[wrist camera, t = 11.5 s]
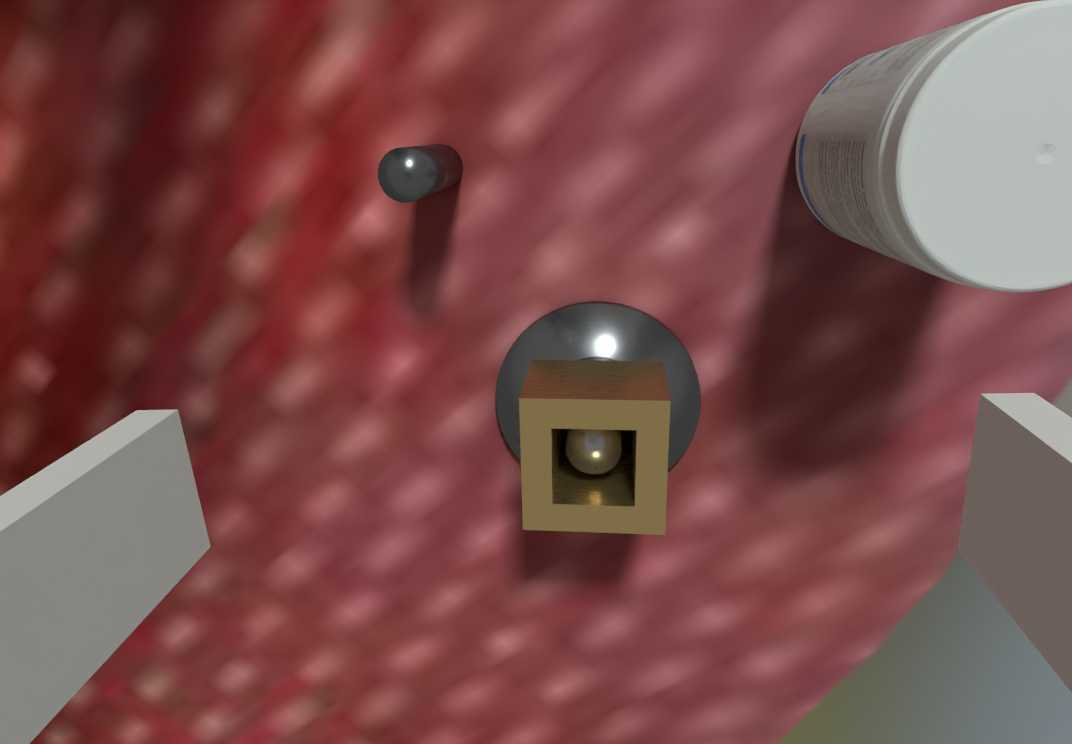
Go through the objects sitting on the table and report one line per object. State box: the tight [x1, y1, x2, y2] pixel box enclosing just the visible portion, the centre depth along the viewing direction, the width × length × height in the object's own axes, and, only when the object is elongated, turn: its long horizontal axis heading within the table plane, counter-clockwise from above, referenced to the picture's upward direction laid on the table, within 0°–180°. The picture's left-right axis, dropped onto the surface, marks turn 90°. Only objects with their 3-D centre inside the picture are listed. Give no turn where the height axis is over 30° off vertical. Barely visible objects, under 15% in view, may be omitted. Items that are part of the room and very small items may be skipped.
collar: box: [519, 360, 670, 535], centre depth 38 cm, size 7×7×6 cm
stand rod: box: [378, 144, 463, 203], centre depth 37 cm, size 2×2×8 cm
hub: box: [496, 301, 701, 474], centre depth 40 cm, size 12×12×7 cm
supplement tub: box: [795, 0, 1072, 292], centre depth 31 cm, size 10×10×15 cm
